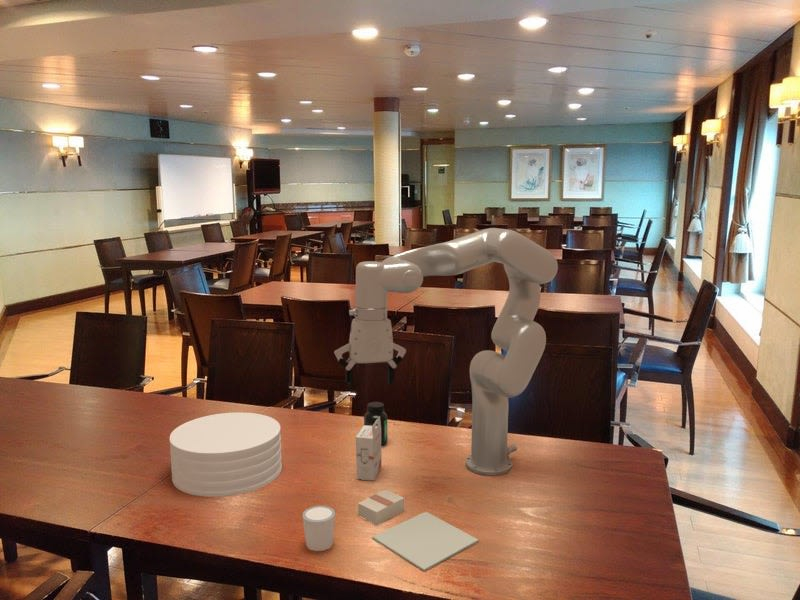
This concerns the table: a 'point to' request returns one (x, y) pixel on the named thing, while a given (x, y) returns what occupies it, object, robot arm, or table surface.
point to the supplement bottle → (372, 415)
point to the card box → (381, 507)
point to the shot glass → (319, 527)
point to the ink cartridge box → (368, 451)
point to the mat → (425, 540)
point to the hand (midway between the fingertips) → (369, 383)
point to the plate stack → (225, 454)
